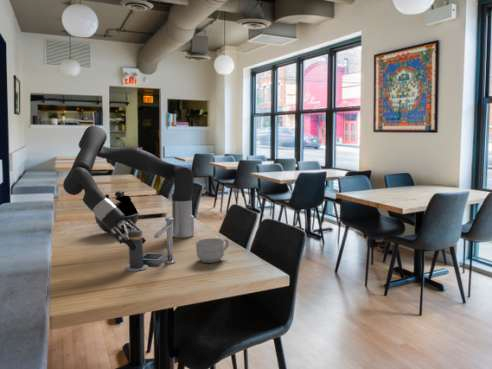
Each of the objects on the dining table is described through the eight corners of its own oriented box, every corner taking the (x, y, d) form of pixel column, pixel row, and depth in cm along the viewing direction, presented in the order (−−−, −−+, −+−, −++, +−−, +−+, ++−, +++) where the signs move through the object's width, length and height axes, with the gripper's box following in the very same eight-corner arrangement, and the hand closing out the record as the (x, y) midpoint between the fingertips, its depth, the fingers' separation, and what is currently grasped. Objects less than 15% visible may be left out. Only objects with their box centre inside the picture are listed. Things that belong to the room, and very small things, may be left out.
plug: (139, 263, 161) (138, 229, 159) (146, 266, 157) (144, 231, 155) (127, 266, 157) (125, 231, 156) (133, 269, 154) (131, 233, 152)
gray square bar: (166, 225, 164) (166, 217, 163) (174, 225, 163) (174, 217, 163) (151, 238, 144) (151, 229, 143) (160, 238, 143) (160, 229, 143)
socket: (145, 257, 170) (145, 252, 169) (167, 258, 168) (167, 253, 168) (136, 264, 161) (136, 259, 160) (160, 265, 160) (159, 260, 159)
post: (172, 260, 166) (172, 219, 164) (177, 262, 163) (176, 221, 161) (163, 261, 164) (162, 221, 162) (167, 264, 161) (166, 222, 159)
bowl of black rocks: (145, 235, 206) (144, 196, 203) (102, 241, 194) (101, 200, 192) (130, 227, 222) (129, 191, 220) (90, 232, 211) (89, 194, 208)
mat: (143, 263, 162) (143, 262, 162) (151, 268, 156) (151, 267, 156) (122, 266, 158) (122, 265, 158) (130, 272, 151) (130, 271, 151)
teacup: (202, 266, 158) (201, 245, 157) (191, 259, 168) (191, 238, 167) (236, 261, 165) (236, 241, 164) (224, 254, 174) (224, 235, 173)
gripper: (110, 216, 164) (140, 247, 163) (92, 224, 150) (125, 258, 149) (123, 203, 162) (153, 234, 162) (106, 210, 148) (139, 243, 148)
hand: (139, 245), depth 156 cm, fingers open, 8 cm apart
